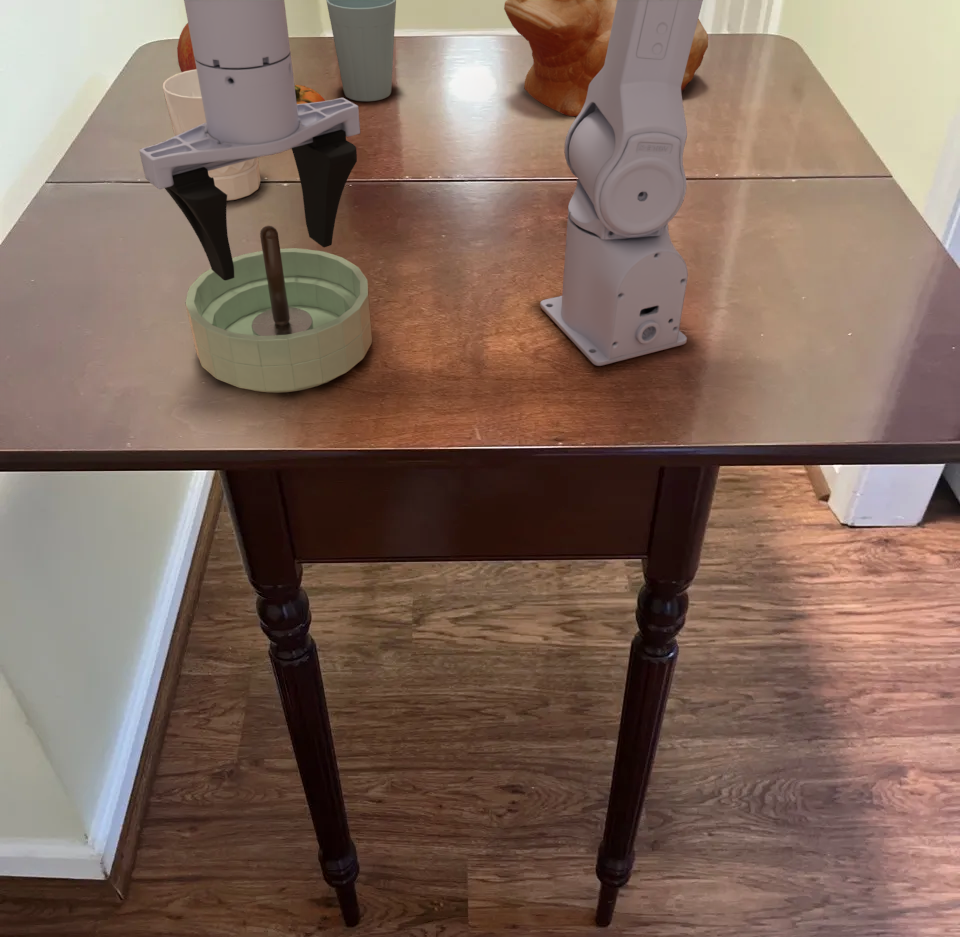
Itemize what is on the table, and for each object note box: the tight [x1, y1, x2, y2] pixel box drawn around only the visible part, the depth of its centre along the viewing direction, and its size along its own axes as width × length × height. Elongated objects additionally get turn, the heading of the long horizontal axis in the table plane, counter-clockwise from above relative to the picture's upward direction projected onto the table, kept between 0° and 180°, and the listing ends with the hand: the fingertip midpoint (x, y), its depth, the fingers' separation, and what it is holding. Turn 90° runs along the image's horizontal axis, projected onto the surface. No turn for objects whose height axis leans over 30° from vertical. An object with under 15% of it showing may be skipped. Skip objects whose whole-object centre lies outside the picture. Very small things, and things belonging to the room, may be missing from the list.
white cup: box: [161, 69, 261, 201], centre depth 90 cm, size 8×8×10 cm
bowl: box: [184, 247, 373, 394], centre depth 70 cm, size 13×13×5 cm
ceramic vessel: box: [503, 0, 709, 117], centre depth 109 cm, size 14×26×15 cm, turn 117°
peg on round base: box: [252, 225, 314, 336], centre depth 68 cm, size 4×4×9 cm
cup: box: [326, 0, 397, 102], centre depth 109 cm, size 8×8×10 cm
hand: (273, 257), depth 67 cm, fingers open, 7 cm apart
